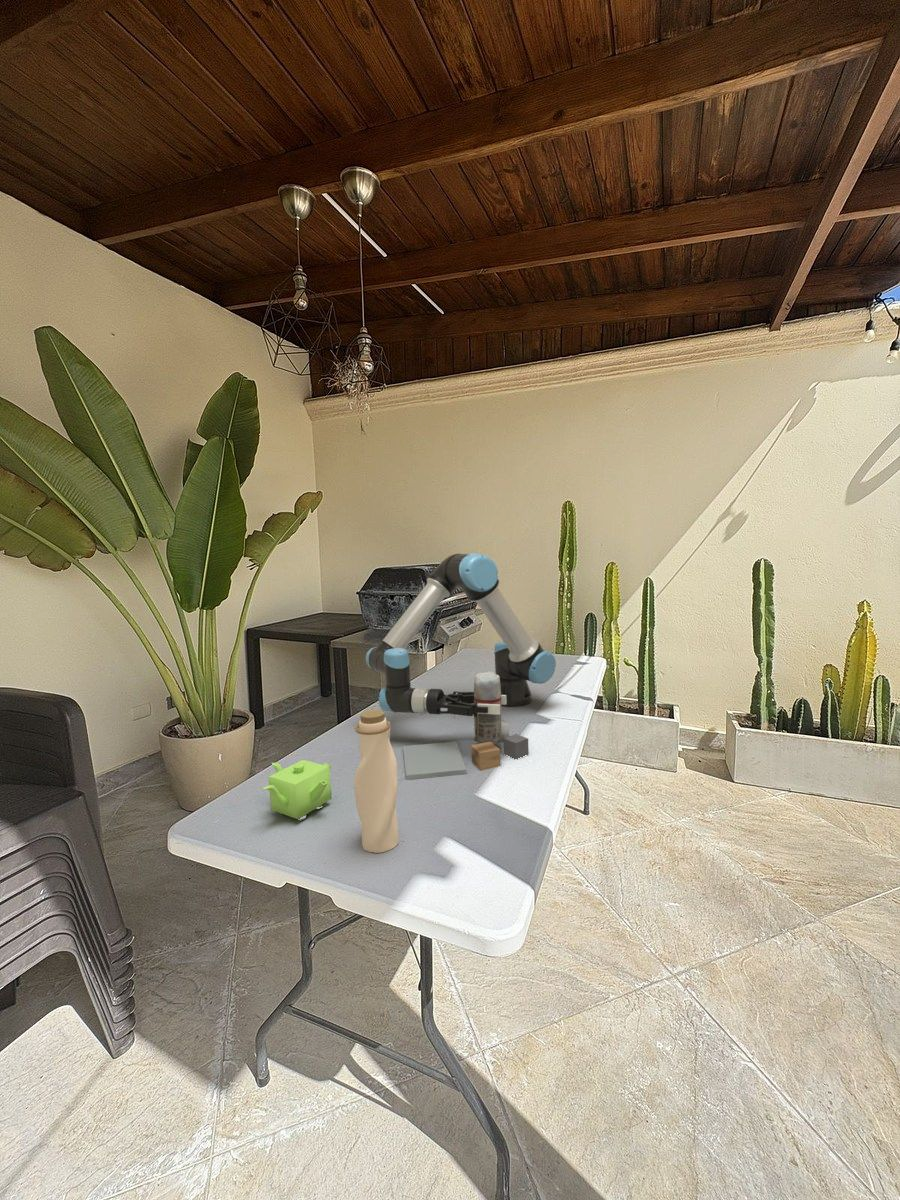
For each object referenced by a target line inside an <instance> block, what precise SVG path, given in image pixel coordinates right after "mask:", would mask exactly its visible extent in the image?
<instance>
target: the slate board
mask: <svg viewBox="0 0 900 1200" xmlns="http://www.w3.org/2000/svg"><path fill="white" fill-rule="evenodd" d="M402 753H403V762H404V770H405V778H406V781H408V780H409V781H410V780H419V779H428V778H438V777H447V776H457V775H458V776H459V775H460V776H461V775H467V768H466V766H465V765H466V764H465V763H464V760H463V758H462V755H461V752H460V750H459V747H458V744H457V741H446V742H445V741H444V742H433V743H424V744H413V745H412V744H411V745H403V746H402Z"/></svg>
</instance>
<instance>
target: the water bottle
mask: <svg viewBox="0 0 900 1200" xmlns="http://www.w3.org/2000/svg"><path fill="white" fill-rule="evenodd" d="M359 715H360V716H359V717H360V720H358V721H359V722H358V724H357V725H355V728H354V729H355V732H356V733H357V734H359V745H358V746H359V747H358V748H359V749H358V750H359V756H360V760H361V761H360V763H359V764H358V767H357V769H356V770H355V774H354V778H353V779H354V781H353V782H354V783H353V789H354V799H355V800H354V801H355V806H356V810H357V814H358V817H359V821H360V824H361V825H360V826H361V846H363V847H362V848H363V849H364V851H366V850H367V851H366V852H369V853H372V852H374V853H373V854H380V853H385V852H388V851H390V850H392V849H393V848H395V847H396V846H397V845H398V844H399V841H400V839H399V838H400V837H399V824H398V814H397V813H398V812H397V808H396V803H397V797H398V789H399V780H398V779H399V778H398V764H397V758H396V755H395V752H394V749H393V746H392V744H391V721H390V720H387V718H386V717H385V711H384V710H382V709H381V710H380V709H370V710H364V711H362V712H361V713H360V714H359Z"/></svg>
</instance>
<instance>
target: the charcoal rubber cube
mask: <svg viewBox="0 0 900 1200" xmlns="http://www.w3.org/2000/svg"><path fill="white" fill-rule="evenodd" d="M502 743H503V755H504V754H505V755H504V756H506V755H508V756H510V757H512V758H511V759H513V758H514V759H513V760H515V759H517V760H519V759H518V758H520V757H522V758H524V757H523V756H525V755H527V756H529V755H528V754H529V753H530V752H529V738H528V737H525V736H523V735H520V734H518V733H514V734H511V735H509V736H508V737H506V738H503V742H502ZM508 756H507V757H508ZM510 757H509V758H510ZM525 757H526V756H525ZM520 759H521V758H520Z"/></svg>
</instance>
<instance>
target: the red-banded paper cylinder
mask: <svg viewBox="0 0 900 1200" xmlns="http://www.w3.org/2000/svg"><path fill="white" fill-rule="evenodd" d="M473 692H474V703H473V704H474V705H477V704H499V705H500V712H501V714H500V715H496V714H478V713H477V717H474V716H473V719H474V721H473V722H474V728H473V731H474V738H473V739H474V742H476V743H477V744H481V743H486V742H492V743H493V744H494V745H496V744H498V743H501V742H500V741H501V720H502V705H501V686H500V677H499V675H496V674H495V671H490V670H489V671H485V672H484V671H483V672H480V673H476V674H475V676H474V683H473Z"/></svg>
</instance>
